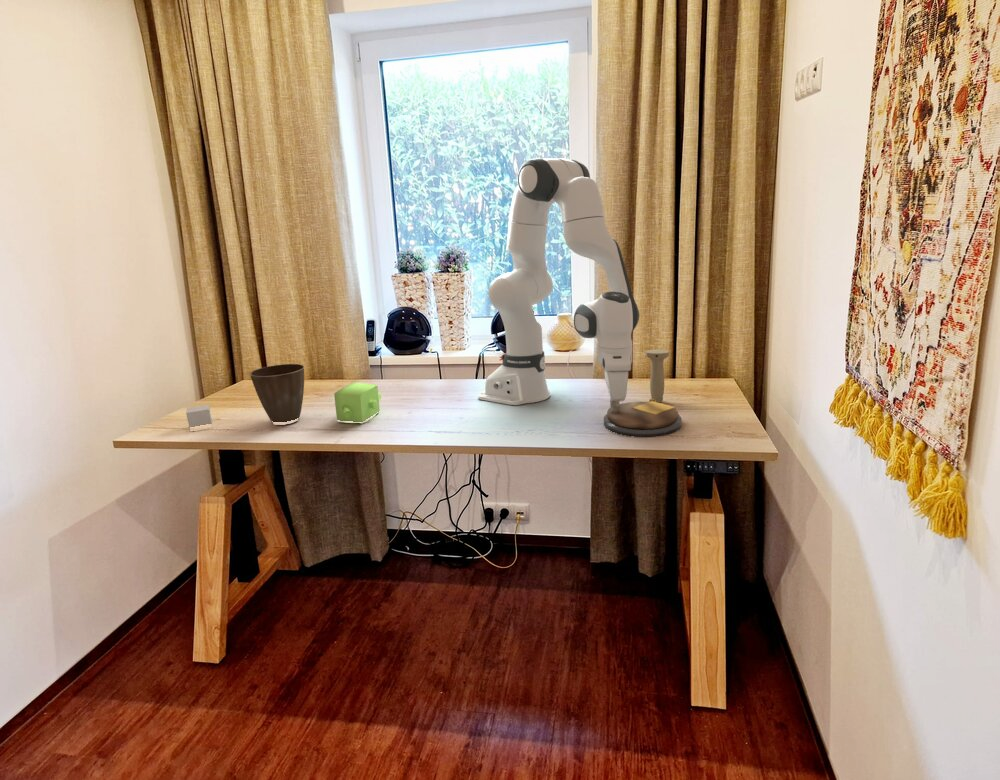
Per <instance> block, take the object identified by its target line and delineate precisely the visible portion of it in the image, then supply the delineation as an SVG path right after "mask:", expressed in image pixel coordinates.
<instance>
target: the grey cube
mask: <svg viewBox="0 0 1000 780" xmlns="http://www.w3.org/2000/svg"><path fill="white" fill-rule="evenodd" d="M185 412H186V413H185V414H186V419H187V423H188V428H190V427H195V426H200V425H206V424H212V423H213V417H212V414H211V408H210V404H202V405H197V406H195V405H194V406H190V407H186V411H185Z"/></svg>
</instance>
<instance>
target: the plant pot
mask: <svg viewBox="0 0 1000 780" xmlns="http://www.w3.org/2000/svg"><path fill="white" fill-rule="evenodd" d="M249 375H250V379H251V381H252V384H253V388H254V391H255V392H256V396H258V399H259V401H260V404H261V405H262V406H261V407H262V408H263V409H264V412H265V414H266V415H267V417H268V418H269V420H270V422H271V421H273V422H287V421H291V420H295V419H297V418H299V417H300V416H301V413H302V406H303V402H304V401H303V400H304V393H305V392H304V390H305V366H304V365H303V364H298V363H285V364H284V363H282V364H275V365H267V366H264V367H260V368H256V369H255V370H252V371H251V372H250V373H249ZM300 418H301V417H300ZM300 418H299V419H300Z"/></svg>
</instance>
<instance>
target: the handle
mask: <svg viewBox="0 0 1000 780" xmlns="http://www.w3.org/2000/svg"><path fill="white" fill-rule="evenodd" d="M669 356H670V351H669V350H667V349H647V350H646V351H645V357H647V359H650V361H651V363H650V378H649V379H650V380H649V382H650V383H649V389H650V396H651V398H650V399H656V402H657V403H661V404H662V403H663V399H664V393H665V371H664V370H665V368H664V360H665V359H667V358H668V357H669Z"/></svg>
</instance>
